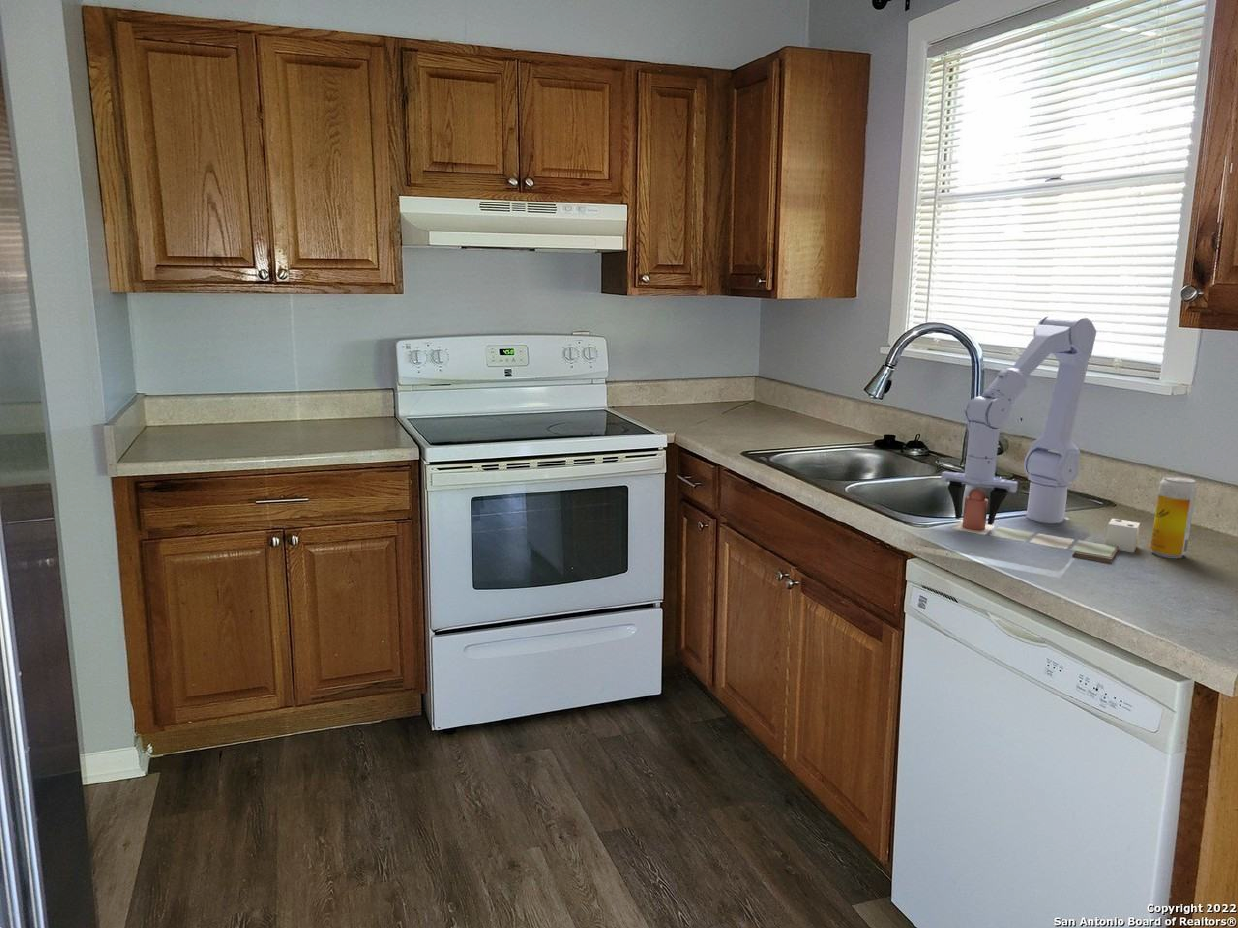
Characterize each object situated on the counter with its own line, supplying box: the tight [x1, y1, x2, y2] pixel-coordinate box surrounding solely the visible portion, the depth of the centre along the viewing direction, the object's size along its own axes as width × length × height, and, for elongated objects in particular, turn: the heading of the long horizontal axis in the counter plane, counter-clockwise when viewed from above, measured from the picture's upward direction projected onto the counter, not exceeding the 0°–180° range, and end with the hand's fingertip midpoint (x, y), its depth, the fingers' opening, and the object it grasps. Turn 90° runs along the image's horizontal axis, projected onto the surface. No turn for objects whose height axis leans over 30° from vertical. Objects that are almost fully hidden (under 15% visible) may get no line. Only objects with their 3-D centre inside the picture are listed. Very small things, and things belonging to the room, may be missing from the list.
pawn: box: [962, 488, 989, 530], centre depth 192 cm, size 4×4×8 cm
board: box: [950, 519, 1120, 564], centre depth 186 cm, size 10×30×1 cm, turn 55°
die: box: [1104, 518, 1141, 553], centre depth 185 cm, size 5×5×5 cm
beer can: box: [1149, 475, 1198, 559], centre depth 180 cm, size 6×6×15 cm
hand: (974, 520), depth 192 cm, fingers open, 6 cm apart
